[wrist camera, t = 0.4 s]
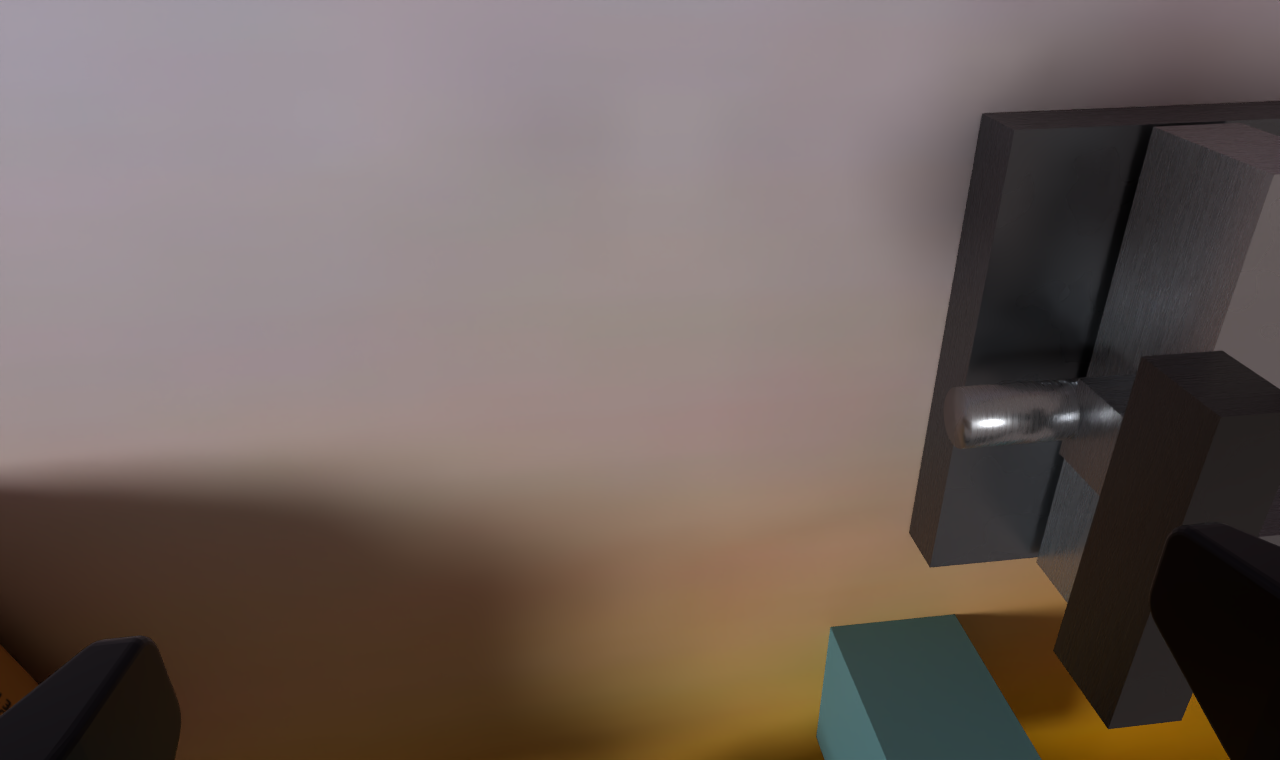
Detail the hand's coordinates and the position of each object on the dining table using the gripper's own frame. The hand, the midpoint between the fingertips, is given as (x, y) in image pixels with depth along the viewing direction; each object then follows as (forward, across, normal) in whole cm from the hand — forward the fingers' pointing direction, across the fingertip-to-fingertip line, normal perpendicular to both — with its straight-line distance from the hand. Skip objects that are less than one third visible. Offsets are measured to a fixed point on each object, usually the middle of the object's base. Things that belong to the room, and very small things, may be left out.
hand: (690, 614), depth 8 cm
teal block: (+14, -9, +17) cm, 24 cm away
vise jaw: (+12, -11, +5) cm, 17 cm away
